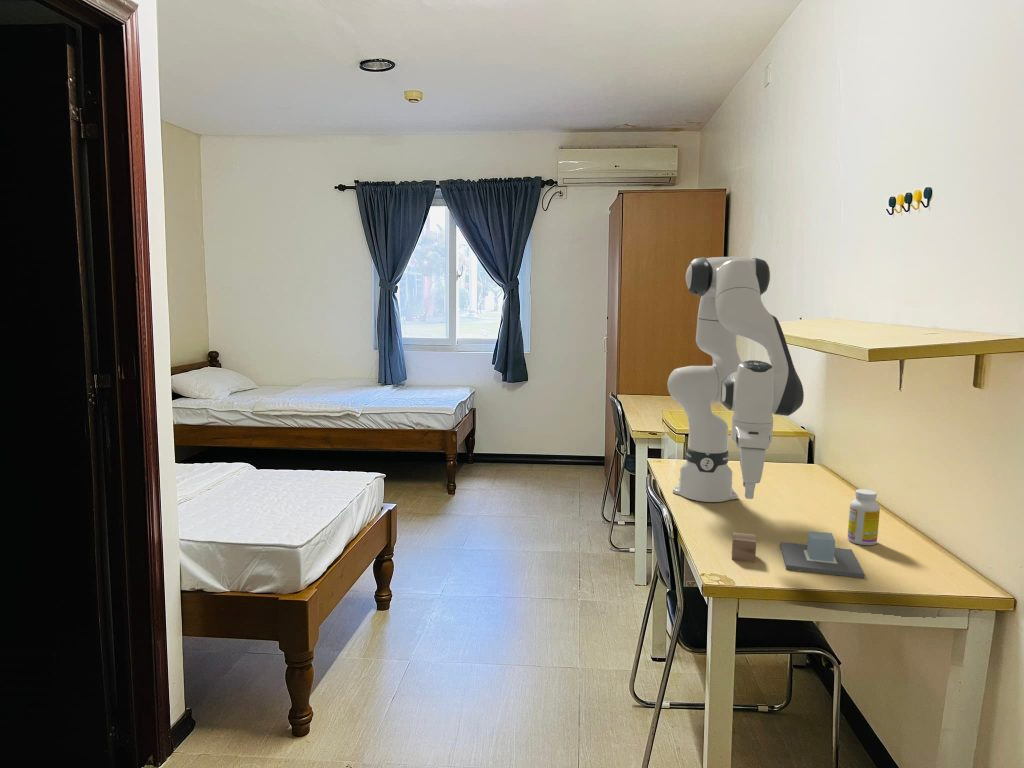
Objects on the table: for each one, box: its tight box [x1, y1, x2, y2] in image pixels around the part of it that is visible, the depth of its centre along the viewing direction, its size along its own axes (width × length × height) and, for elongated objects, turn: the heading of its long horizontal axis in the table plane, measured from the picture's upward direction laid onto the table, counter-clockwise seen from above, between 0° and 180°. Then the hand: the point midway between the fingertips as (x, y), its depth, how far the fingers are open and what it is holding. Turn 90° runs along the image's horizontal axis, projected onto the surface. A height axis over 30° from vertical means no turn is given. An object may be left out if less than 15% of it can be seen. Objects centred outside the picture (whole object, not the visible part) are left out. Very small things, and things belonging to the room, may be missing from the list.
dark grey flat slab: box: [779, 541, 865, 579], centre depth 165 cm, size 15×16×1 cm
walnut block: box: [731, 531, 757, 564], centre depth 166 cm, size 5×5×5 cm
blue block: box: [806, 530, 836, 562], centre depth 165 cm, size 5×5×5 cm
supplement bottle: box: [847, 488, 881, 547], centre depth 177 cm, size 7×7×13 cm
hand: (747, 492), depth 164 cm, fingers open, 8 cm apart
